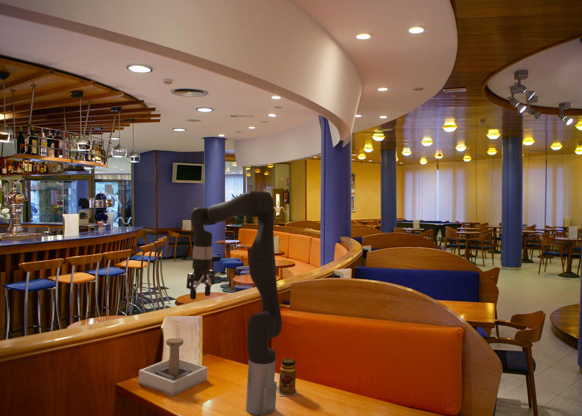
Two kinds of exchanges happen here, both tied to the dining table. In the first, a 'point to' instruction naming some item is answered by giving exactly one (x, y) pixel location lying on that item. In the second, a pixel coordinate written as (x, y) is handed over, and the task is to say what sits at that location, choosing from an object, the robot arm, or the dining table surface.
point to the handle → (174, 355)
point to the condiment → (287, 378)
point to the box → (168, 384)
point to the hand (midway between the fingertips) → (200, 297)
